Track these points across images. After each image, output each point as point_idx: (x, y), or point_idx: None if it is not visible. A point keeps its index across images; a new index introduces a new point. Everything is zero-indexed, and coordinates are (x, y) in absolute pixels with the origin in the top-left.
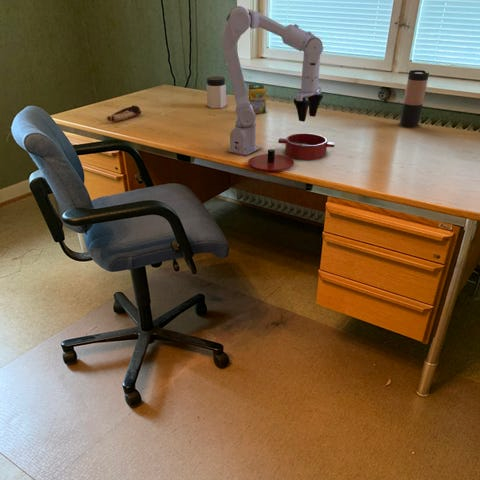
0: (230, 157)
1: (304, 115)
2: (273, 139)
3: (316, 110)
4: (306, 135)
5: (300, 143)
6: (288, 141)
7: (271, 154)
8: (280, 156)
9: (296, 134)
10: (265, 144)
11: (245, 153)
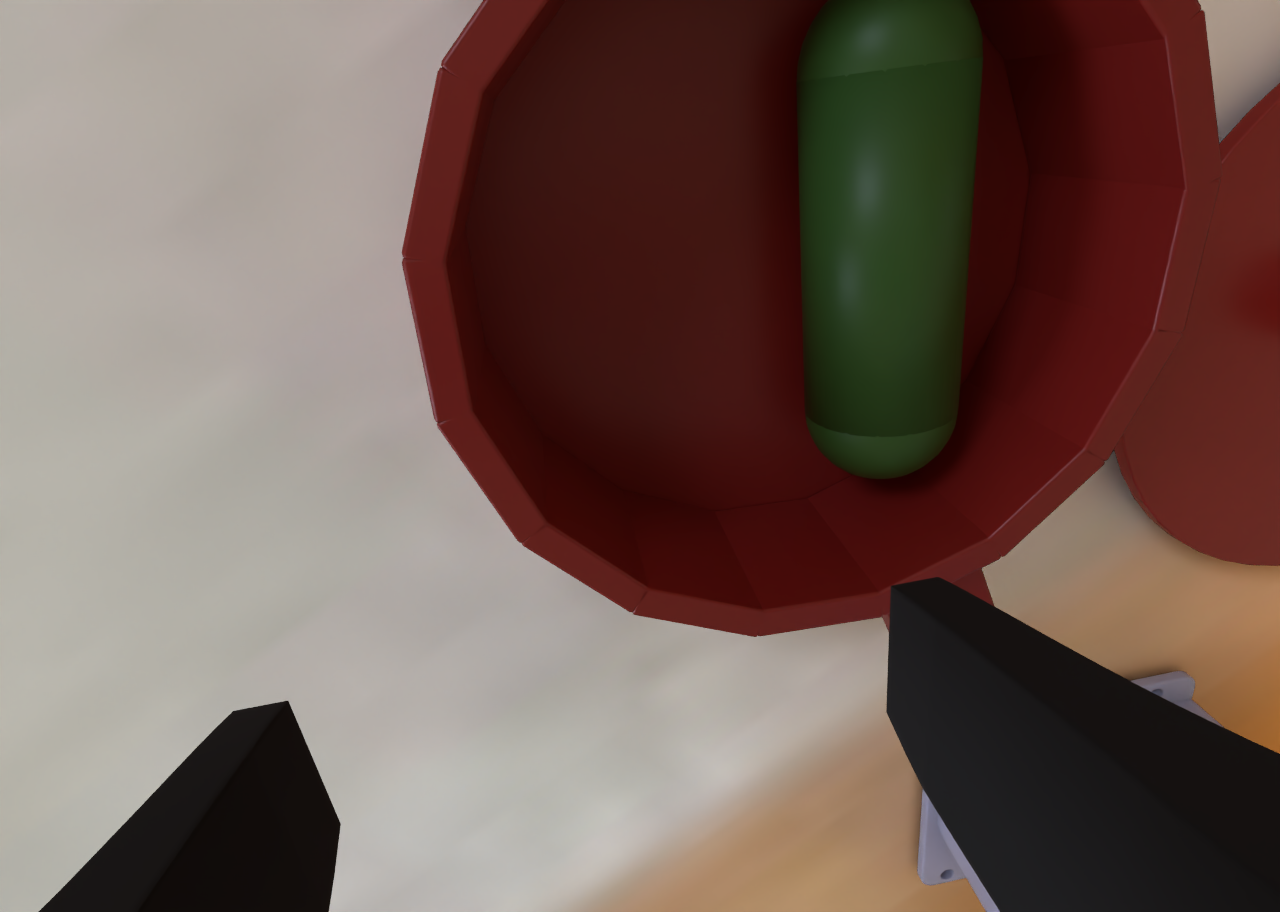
0: (1267, 718)
1: (1099, 678)
2: (570, 836)
3: (155, 850)
4: (541, 496)
5: (914, 329)
6: (1096, 452)
7: None
8: (1179, 356)
9: (696, 598)
10: (768, 778)
11: (1178, 693)
